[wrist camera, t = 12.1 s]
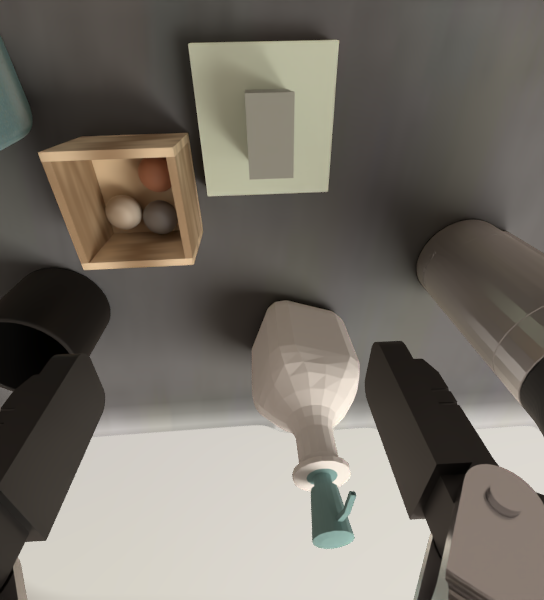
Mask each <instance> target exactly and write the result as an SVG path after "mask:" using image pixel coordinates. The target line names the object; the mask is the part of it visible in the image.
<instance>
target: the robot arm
mask: <svg viewBox="0 0 544 600" xmlns="http://www.w3.org/2000/svg"><path fill="white" fill-rule="evenodd" d="M417 277H418V279H419V281H420V283H421V284H422V285H423V287H424V288H425V289H426V290H427V292H428V293H429V294H430V295H431V297H432V298H433V299H434V300H435V301H436V303H437V304H438V305H439V307H440V308H441V309H442V310H443V311H444V313H445V314H446V315H447V316H448V317H449V319H450V320H451V321H452V322H453V324H454V325H455V326H456V327H457V328H458V330H459V331H460V332H461V333H462V334H463V336H464V337H465V338H466V339H467V340H468V342H469V343H470V344H471V345H472V347H473V348H474V349H475V350H476V351H477V353H478V354H479V355H480V356H481V357H482V359H483V360H484V361H485V362H486V363H487V365H488V366H489V367H490V368H491V369H492V371H493V372H494V373H495V374H496V376H498V378H499V379H500V380H501V381H502V383H503V384H504V385H505V386H506V387H507V389H508V390H509V391H510V392H511V393H512V395H513V396H514V397H515V398H516V400H517V401H518V402H519V403H520V404H521V406H522V407H523V408H524V409H525V410H526V411H527V413H528V414H529V415H530V416H531V417H532V419H533V420H534V421H535V423H536V424H537V426H538V427H539V429H540V431H541V433H542V434H543V436H544V253H542V252H541V251H539V250H537V249H536V248H534V247H532V246H531V245H529V244H528V243H526V242H524V241H523V240H521V239H519V238H518V237H516V236H514V235H513V234H511V233H509V232H507V231H501V230H500V229H498V228H496V227H495V226H493V225H491V224H489V223H487V222H485V221H481V220H464V221H460V222H456V223H454V224H452V225H449V226H447V227H446V228H444V229H442V230H441V231H439V232H438V233H437V234H436V235H435V236H433V237H432V238H431V239H430V240H429V242H428V243H427V244H426V245H425V247H424V248H423V250H422V252H421V253H420V256H419V259H418V261H417ZM365 393H366V398H367V401H368V404H369V407H370V410H371V412H372V415H373V418H374V421H375V423H376V426H377V429H378V432H379V435H380V437H381V440H382V443H383V446H384V449H385V451H386V454H387V457H388V460H389V462H390V465H391V468H392V471H393V474H394V476H395V479H396V482H397V485H398V488H399V490H400V493H401V496H402V499H403V501H404V504H405V507H406V510H407V513H408V515H409V518H410V519H426V521H427V523H428V526H429V528H430V531H431V534H430V537H429V541H428V544H427V549H426V552H425V557H424V560H423V564H422V568H421V572H420V576H419V581H418V585H417V589H416V592H415V596H414V600H544V495H542V494H539V493H536V492H535V491H534V490H533V489H532V488H531V487H530V486H529V485H528V484H527V483H526V482H525V481H524V480H522V479H521V478H520V477H519V476H517V475H516V474H514V473H512V472H510V471H509V470H507V469H504V468H502V467H499V466H498V464H497V463H496V462H495V460H494V459H493V458H492V456H491V454H490V453H489V451H488V450H487V448H486V446H485V445H484V443H483V442H482V440H481V439H480V437H479V435H478V434H477V432H476V431H475V429H474V428H473V426H472V424H471V423H470V421H469V420H468V418H467V417H466V415H465V413H464V412H463V410H462V409H461V407H460V405H457V401H456V399H455V398H454V396H453V394H452V393H451V391H449V390H448V387H447V385H446V383H445V382H444V380H443V379H442V377H441V376H440V374H439V372H438V371H436V370H435V369H434V368H433V367H432V366H431V365H429V364H428V363H427V362H426V361H425V360H423V359H413V357H412V356H411V354H410V352H409V350H408V349H407V347H406V345H405V344H404V343H403V342H402V341H390V342H375V343H374V344H373V345H372V349H371V354H370V358H369V363H368V368H367V373H366V377H365ZM104 406H105V393H104V389H103V387H102V384H101V382H100V380H99V377H98V375H97V373H96V370H95V368H94V366H93V364H92V361H91V359H90V357H89V356H88V355H87V354H84V353H83V354H60V355H54V356H53V357H52V358H51V359H50V360H49V361H48V363H47V364H46V365H45V367H44V368H43V370H42V371H41V372H40V374H39V375H33V376H31V377H30V378H29V379H28V380H26V381H25V382H24V383H23V384H21V385H20V386H19V387H18V388H16V389H15V390H14V391H13V393H12V394H11V395H10V396H9V398H8V399H7V400H6V402H5V403H4V404H3V406H2V407H1V411H0V600H27V596H26V590H25V585H24V579H23V573H22V567H21V563H20V560H19V559H18V555H19V553H20V551H21V549H22V547H23V545H24V543H25V542H30V541H46V539H47V537H48V535H49V533H50V530H51V528H52V526H53V524H54V521H55V519H56V517H57V515H58V512H59V510H60V508H61V506H62V503H63V501H64V499H65V496H66V494H67V492H68V490H69V488H70V485H71V483H72V480H73V478H74V476H75V474H76V472H77V469H78V467H79V465H80V462H81V460H82V458H83V456H84V454H85V451H86V449H87V447H88V445H89V442H90V440H91V438H92V436H93V433H94V431H95V429H96V426H97V424H98V422H99V420H100V417H101V415H102V413H103V410H104Z"/></svg>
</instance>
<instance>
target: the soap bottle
mask: <svg viewBox="0 0 544 600" xmlns="http://www.w3.org/2000/svg"><path fill="white" fill-rule="evenodd" d="M358 381H359V361H358V358H357V355H356V353H355V350H354V348H353V345H352V343H351V340H350V337H349V335H348V332H347V330H346V327H345V324H344V322H343V320H342V319H341V318H340V317H339V316H338V315H336V314H335V313H334V312H333V311H329V310H325V309H321V308H316V307H312V306H308V305H304V304H300V303H296V302H291V301H287V300H284V301H278V302H274V303H273V304H272V305H271V306H270V307H269V308H268V309H267V311H266V314H265V317H264V319H263V322H262V324H261V327H260V329H259V332H258V335H257V337H256V340H255V342H254V345H253V347H252V396H253V400H254V404H255V407H256V409H257V410H258V412H259V413H260V414H261V415H262V416H264V417H265V418H267V419H268V420H270V421H271V422H272V423H274V424H275V425H277V426H278V427H280V428H282V429H283V430H285V431H287V432H291V433H293V434H294V436H295V438H296V443H297V450H298V458H299V464H298V465H297V466H296V467H295V468H294V471H293V474H292V475H293V481H294V483H295V485H296V486H298V487H299V488H300V489H302V490H306V491H311V510H312V511H311V512H312V538H313V539H312V540H313V544H314V545H315V546H317V547H319V548H325V549H326V548H327V549H330V548H338V547H342V546H345V545H348V544H349V543H351V542H352V541H353V540H354V538H355V537H354V534H353V531H352V529H351V526H350V523H349V520H348V517H347V516H348V515H349V514H350V512H351V509H352V506H353V503H354V500H355V498H356V493H355V492H352V491H350V492H349V494H348V497H347V500H346V503H345V506H344V505H343V502H342V499H341V496H340V493H339V490H338V487H339V486H342V485H343V484H344V483H345V482H346V481H348V480H349V477H350V475H351V472H350V468H349V464H348V463H347V462H346V461H345V460H344V459H342V458H339V457H338V453H337V449H336V444H335V440H334V436H333V430H334V427H335V426H336V425H337V424H338V423H339V422H340V421H341V420H342V419H343V418H344V416H345V414H346V413H347V411H348V409H349V407H350V406H351V404H352V402H353V400H354V398H355V395H356V392H357V388H358Z"/></svg>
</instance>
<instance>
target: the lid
mask: <svg viewBox="0 0 544 600" xmlns="http://www.w3.org/2000/svg"><path fill="white" fill-rule="evenodd" d="M188 47H189V55H190V63H191V71H192V78H193V86H194V94H195V102H196V109H197V117H198V125H199V133H200V141H201V148H202V156H203V164H204V172H205V179H206V187H207V195H208V196H230V195H256V194H282V193H308V192H328V184H329V171H330V157H331V143H332V130H333V116H334V103H335V89H336V75H337V62H338V48H339V40H300V41H252V42H204V43H188Z"/></svg>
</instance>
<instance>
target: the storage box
mask: <svg viewBox="0 0 544 600" xmlns="http://www.w3.org/2000/svg"><path fill="white" fill-rule="evenodd" d="M38 154H39V157H40V159H41V162H42V164H43V167H44V170H45V172H46V175H47V177H48V180H49V182H50V185H51V188H52V190H53V193H54V195H55V198H56V200H57V203H58V206H59V208H60V211H61V213H62V216H63V218H64V221H65V223H66V226H67V229H68V231H69V234H70V236H71V239H72V241H73V244H74V247H75V249H76V252H77V254H78V257H79V259H80V262H81V264H82V267H83V270H96V269H116V268H137V267H157V266H177V265H194V262H195V259H196V255H197V252H198V248H199V245H200V241H201V238H202V234H203V228H202V221H201V214H200V207H199V201H198V194H197V187H196V181H195V174H194V167H193V161H192V154H191V147H190V140H189V134H188V133H165V134H137V135H108V136H81V137H78V138H76V139H73V140H70V141H67V142H65V143H62V144H59V145H57V146H54V147H51V148H48V149H46V150H43V151H40V152H38Z"/></svg>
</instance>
